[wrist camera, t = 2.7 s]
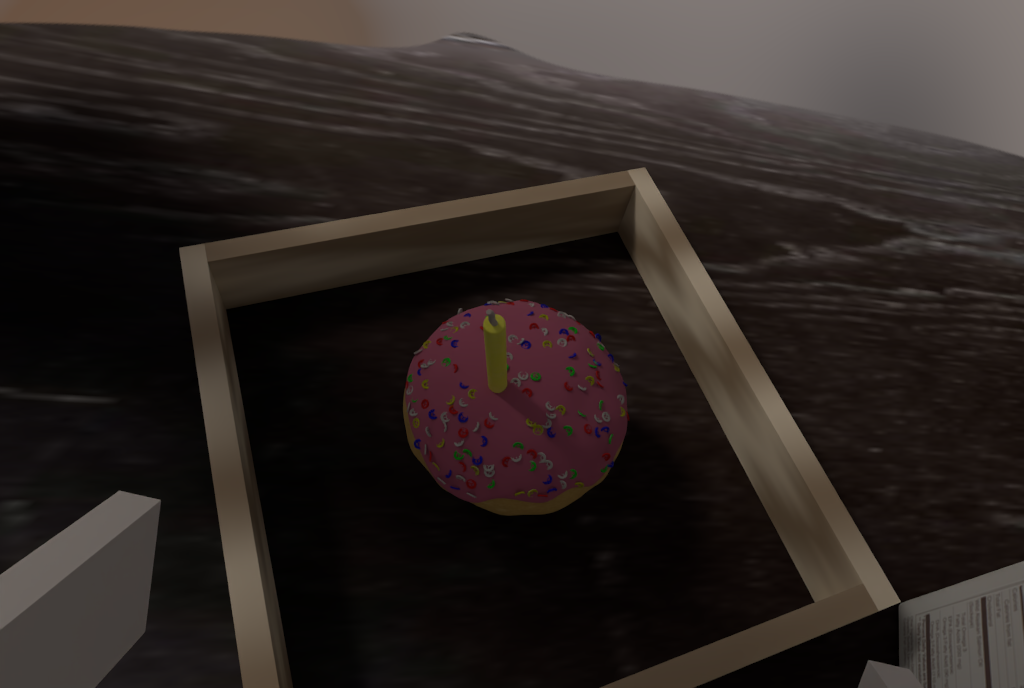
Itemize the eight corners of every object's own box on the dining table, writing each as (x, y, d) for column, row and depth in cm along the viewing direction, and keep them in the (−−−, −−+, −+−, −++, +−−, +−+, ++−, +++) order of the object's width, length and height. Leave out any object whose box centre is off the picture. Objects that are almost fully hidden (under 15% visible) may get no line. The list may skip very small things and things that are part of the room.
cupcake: (473, 589, 27) (512, 478, 17) (365, 418, 30) (343, 236, 20) (639, 476, 30) (755, 326, 20) (526, 333, 33) (577, 139, 23)
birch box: (200, 296, 32) (178, 248, 29) (626, 214, 38) (644, 167, 35) (287, 851, 22) (268, 863, 19) (849, 620, 28) (900, 602, 25)
